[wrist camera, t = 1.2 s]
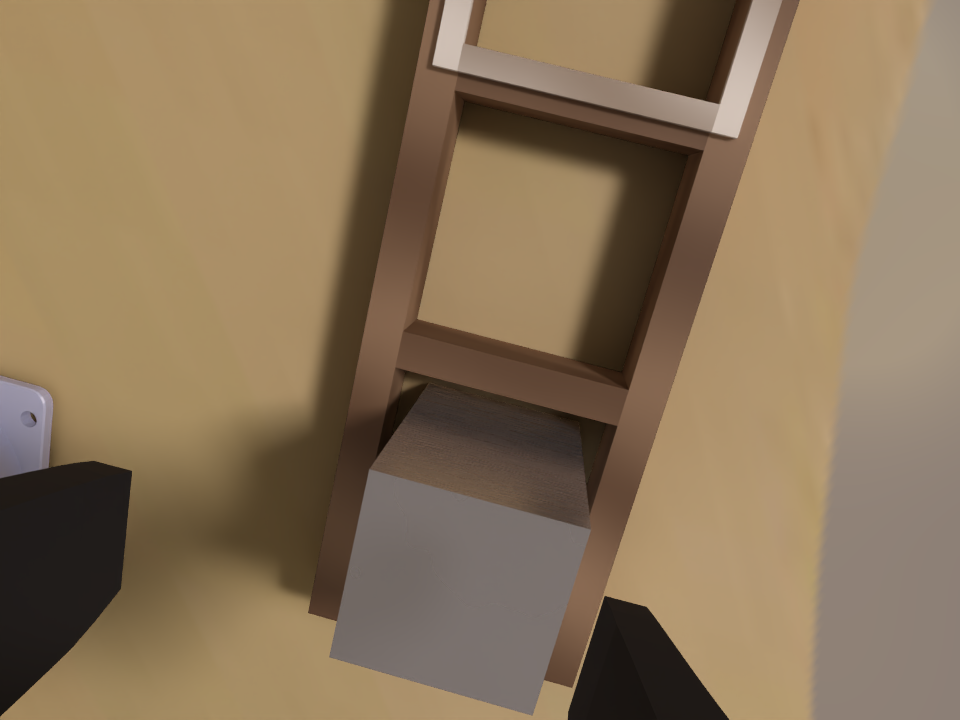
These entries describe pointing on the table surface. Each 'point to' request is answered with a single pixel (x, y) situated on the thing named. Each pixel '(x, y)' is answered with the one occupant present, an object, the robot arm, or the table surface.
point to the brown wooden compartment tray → (519, 370)
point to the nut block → (467, 548)
